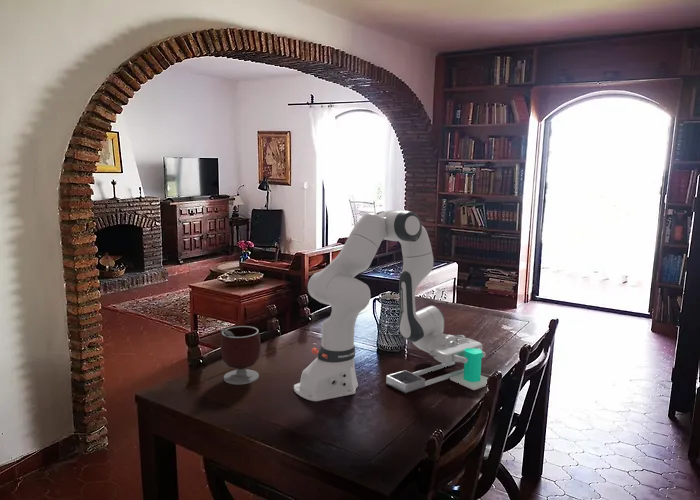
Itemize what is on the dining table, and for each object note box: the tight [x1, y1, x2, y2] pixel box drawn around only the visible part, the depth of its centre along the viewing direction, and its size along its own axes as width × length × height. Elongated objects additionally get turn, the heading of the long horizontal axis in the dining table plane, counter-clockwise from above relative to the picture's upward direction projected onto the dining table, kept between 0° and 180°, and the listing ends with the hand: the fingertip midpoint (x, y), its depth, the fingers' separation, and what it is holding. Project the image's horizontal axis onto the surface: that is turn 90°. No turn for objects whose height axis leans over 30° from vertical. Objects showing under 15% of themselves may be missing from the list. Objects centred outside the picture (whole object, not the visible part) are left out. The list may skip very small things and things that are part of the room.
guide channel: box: [412, 362, 464, 387], centre depth 199 cm, size 24×9×2 cm, turn 127°
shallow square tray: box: [385, 369, 426, 394], centre depth 189 cm, size 9×10×3 cm
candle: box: [463, 346, 483, 382], centre depth 193 cm, size 6×6×12 cm
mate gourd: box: [219, 325, 262, 386], centre depth 192 cm, size 16×14×20 cm
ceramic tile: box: [449, 373, 489, 391], centre depth 194 cm, size 11×11×1 cm
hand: (475, 358), depth 192 cm, fingers open, 8 cm apart
